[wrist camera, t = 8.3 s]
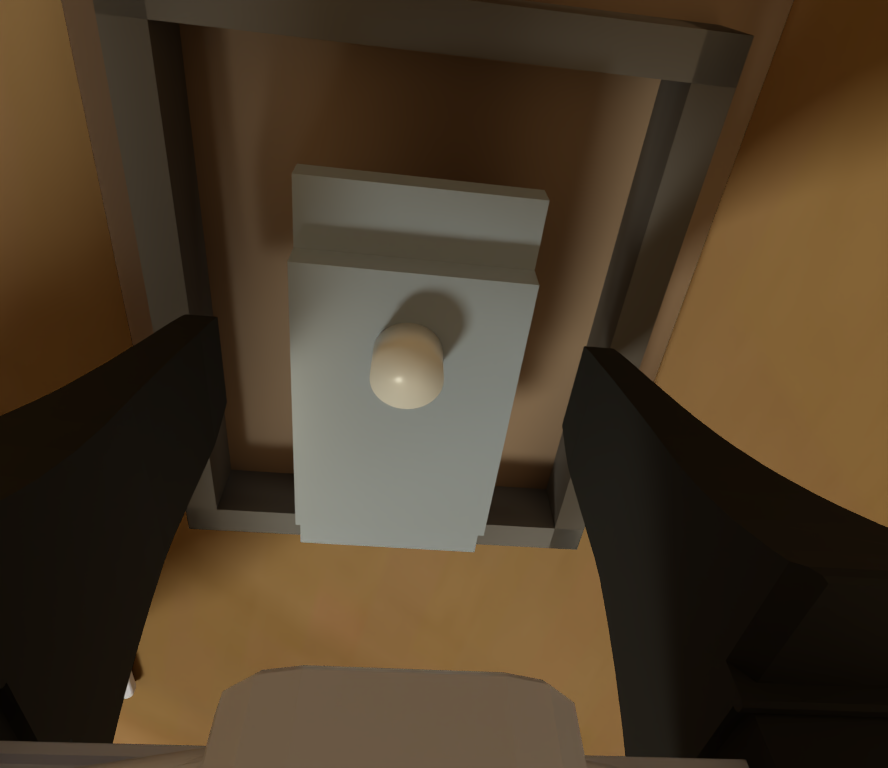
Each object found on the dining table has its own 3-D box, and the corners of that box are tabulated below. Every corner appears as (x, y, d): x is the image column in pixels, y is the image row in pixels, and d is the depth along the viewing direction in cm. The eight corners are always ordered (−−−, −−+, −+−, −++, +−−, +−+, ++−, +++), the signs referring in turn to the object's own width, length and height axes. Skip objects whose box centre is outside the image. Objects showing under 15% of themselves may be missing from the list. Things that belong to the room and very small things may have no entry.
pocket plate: (176, 476, 19) (146, 541, 17) (68, -102, 11) (-12, -109, 9) (594, 501, 20) (612, 565, 18) (771, -10, 12) (839, 2, 10)
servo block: (321, 442, 17) (290, 592, 13) (322, 118, 12) (274, 204, 9) (466, 453, 18) (478, 602, 14) (522, 141, 13) (564, 234, 9)
